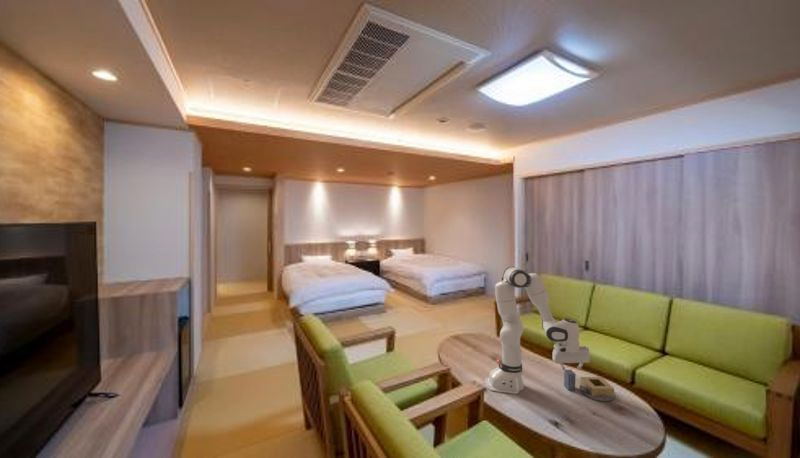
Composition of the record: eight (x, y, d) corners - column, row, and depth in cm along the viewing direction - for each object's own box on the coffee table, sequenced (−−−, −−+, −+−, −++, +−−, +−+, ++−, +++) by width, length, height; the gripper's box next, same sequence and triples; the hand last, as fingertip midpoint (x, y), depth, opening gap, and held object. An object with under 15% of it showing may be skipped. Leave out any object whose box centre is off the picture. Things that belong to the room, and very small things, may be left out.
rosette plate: (589, 401, 171) (589, 391, 171) (573, 384, 188) (574, 374, 188) (621, 402, 170) (621, 391, 170) (602, 384, 187) (603, 374, 187)
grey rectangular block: (568, 390, 182) (568, 374, 181) (564, 385, 187) (564, 369, 186) (575, 390, 182) (575, 374, 181) (570, 385, 187) (571, 369, 186)
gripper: (585, 343, 185) (586, 366, 186) (550, 344, 187) (551, 367, 187) (591, 348, 179) (592, 371, 180) (555, 349, 180) (556, 372, 181)
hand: (571, 369), depth 184 cm, fingers open, 8 cm apart
